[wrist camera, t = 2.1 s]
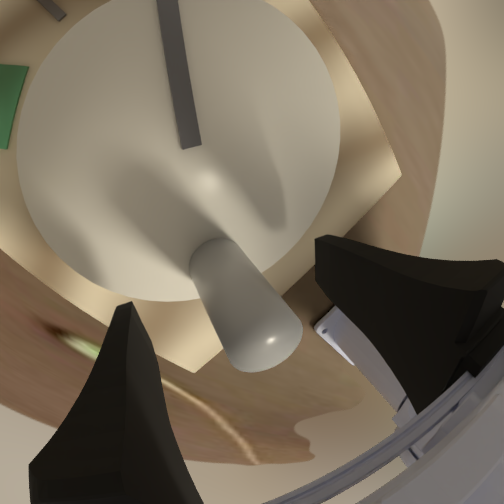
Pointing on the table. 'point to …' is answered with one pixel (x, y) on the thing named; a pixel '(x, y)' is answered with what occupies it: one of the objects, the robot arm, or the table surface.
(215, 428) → the table surface
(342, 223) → the dial board
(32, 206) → the tuning knob
